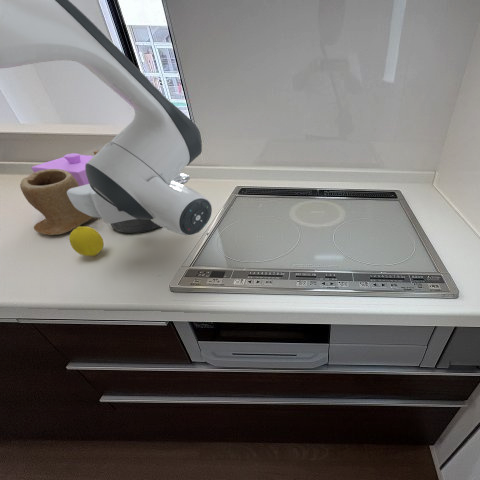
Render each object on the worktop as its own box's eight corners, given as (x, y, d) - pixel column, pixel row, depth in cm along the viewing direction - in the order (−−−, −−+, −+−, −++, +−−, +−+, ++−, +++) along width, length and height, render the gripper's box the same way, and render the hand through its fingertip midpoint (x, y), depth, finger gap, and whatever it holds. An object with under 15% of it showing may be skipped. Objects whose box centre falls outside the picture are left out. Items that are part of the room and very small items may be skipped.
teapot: (143, 184, 96) (129, 144, 88) (81, 217, 76) (56, 170, 68) (106, 180, 98) (89, 141, 90) (36, 211, 77) (6, 164, 70)
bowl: (99, 234, 69) (92, 219, 67) (132, 207, 82) (126, 194, 79) (158, 235, 70) (153, 220, 68) (181, 208, 83) (178, 195, 80)
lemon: (75, 258, 61) (56, 229, 57) (100, 246, 65) (85, 218, 61) (88, 265, 59) (70, 236, 55) (114, 252, 63) (99, 224, 59)
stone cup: (66, 242, 66) (31, 186, 57) (29, 234, 68) (-10, 179, 60) (118, 214, 78) (95, 164, 70) (85, 208, 80) (60, 159, 72)
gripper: (190, 165, 58) (155, 152, 64) (81, 196, 44) (49, 176, 50) (196, 191, 62) (163, 177, 68) (97, 228, 48) (65, 206, 54)
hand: (113, 177), depth 59 cm, fingers closed on sponge wand, 3 cm apart
